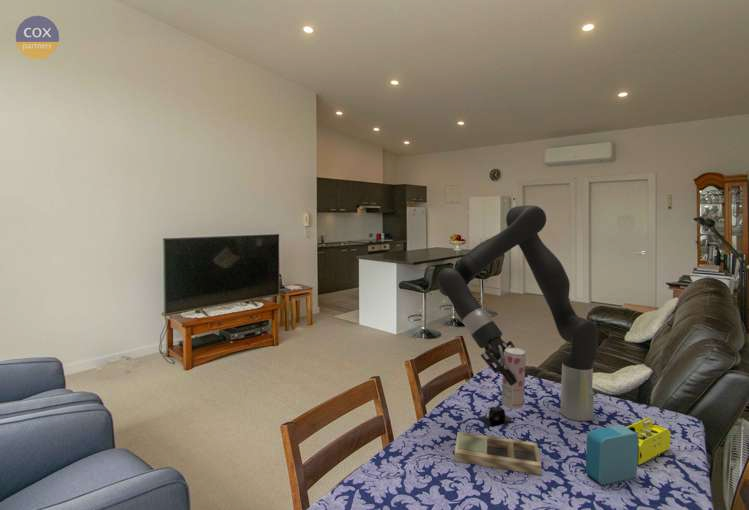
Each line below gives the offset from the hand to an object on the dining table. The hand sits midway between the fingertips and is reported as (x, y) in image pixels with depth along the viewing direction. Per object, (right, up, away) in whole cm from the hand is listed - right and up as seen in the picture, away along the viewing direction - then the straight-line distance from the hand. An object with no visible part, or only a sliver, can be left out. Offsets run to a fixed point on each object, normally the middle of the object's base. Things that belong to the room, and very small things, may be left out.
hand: (519, 380), depth 105 cm
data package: (+22, -23, -4) cm, 32 cm away
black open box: (+2, -22, +24) cm, 33 cm away
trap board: (-5, -22, +4) cm, 23 cm away
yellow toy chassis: (+37, -23, +5) cm, 44 cm away
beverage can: (-1, -7, +2) cm, 8 cm away
